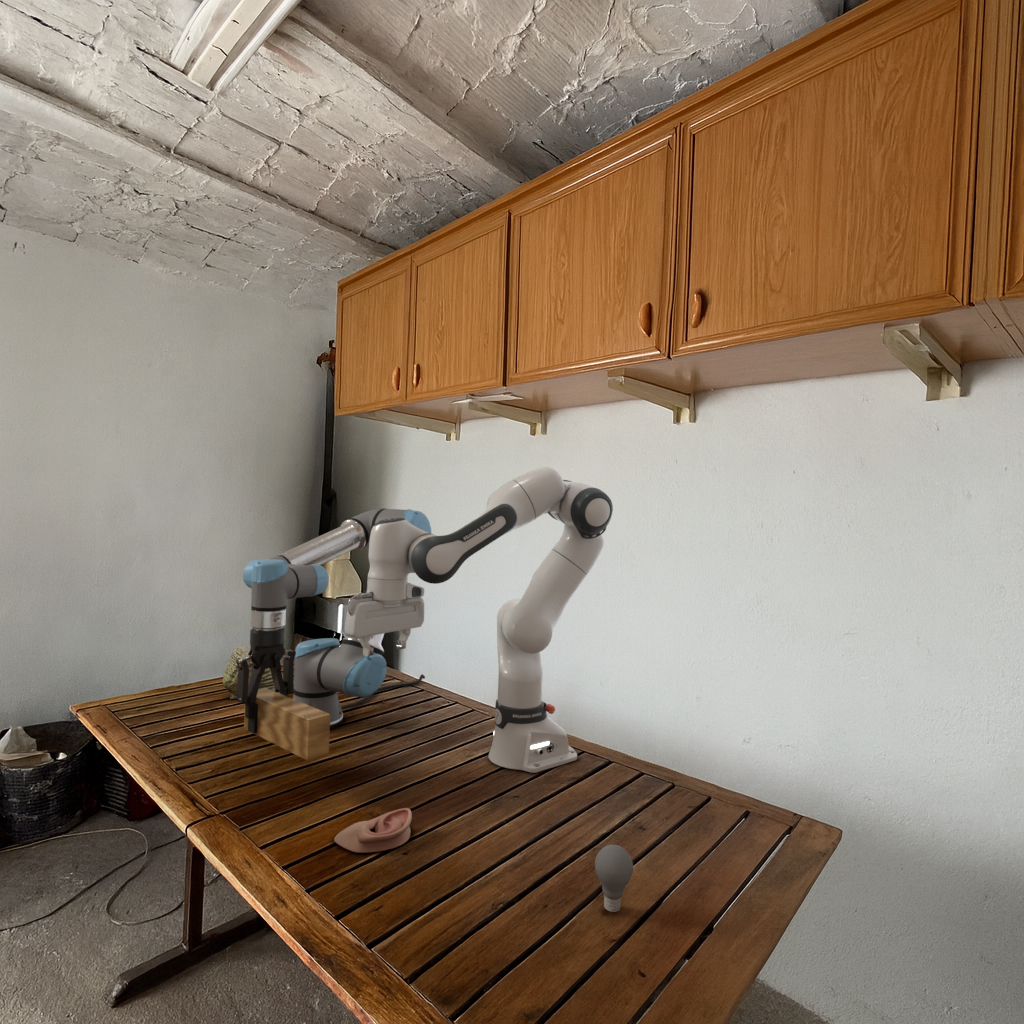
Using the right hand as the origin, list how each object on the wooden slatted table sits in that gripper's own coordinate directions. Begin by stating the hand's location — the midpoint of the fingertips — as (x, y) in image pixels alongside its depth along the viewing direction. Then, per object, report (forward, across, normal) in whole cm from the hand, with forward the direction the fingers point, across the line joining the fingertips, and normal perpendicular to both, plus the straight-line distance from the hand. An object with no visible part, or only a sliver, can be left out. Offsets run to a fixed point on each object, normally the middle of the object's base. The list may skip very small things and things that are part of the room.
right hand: (384, 652), depth 142 cm
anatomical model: (+29, -16, -18) cm, 38 cm away
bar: (+20, -15, +15) cm, 29 cm away
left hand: (+20, -15, +23) cm, 34 cm away
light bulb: (+29, -4, -62) cm, 68 cm away
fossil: (+29, +12, +75) cm, 81 cm away
